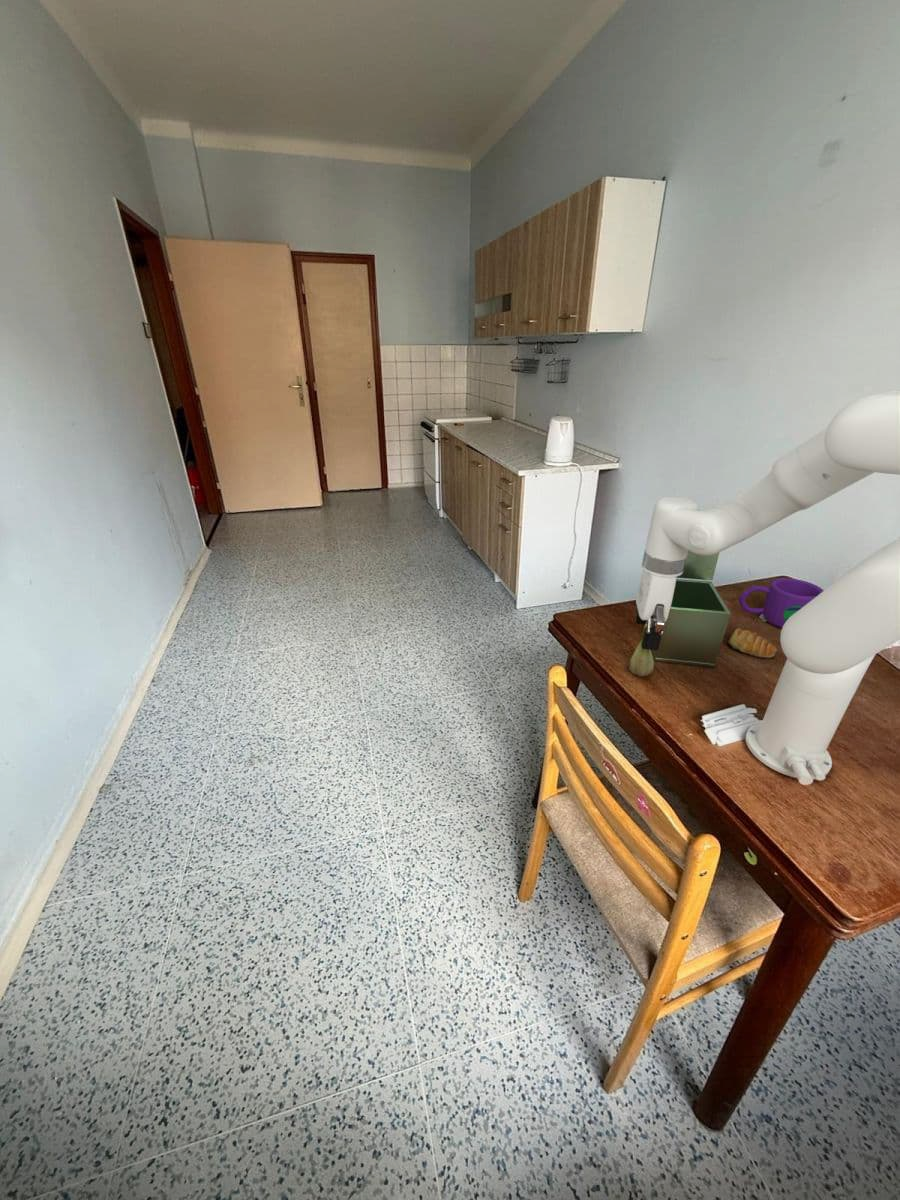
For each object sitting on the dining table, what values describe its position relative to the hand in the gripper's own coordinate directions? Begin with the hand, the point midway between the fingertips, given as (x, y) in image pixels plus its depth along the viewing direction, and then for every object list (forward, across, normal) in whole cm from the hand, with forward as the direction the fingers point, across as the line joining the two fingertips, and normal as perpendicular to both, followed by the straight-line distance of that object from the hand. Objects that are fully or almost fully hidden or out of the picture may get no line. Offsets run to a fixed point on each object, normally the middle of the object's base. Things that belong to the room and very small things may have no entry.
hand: (646, 635), depth 100 cm
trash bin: (+9, -13, +10) cm, 19 cm away
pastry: (+9, -15, +26) cm, 32 cm away
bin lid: (-13, -21, +10) cm, 26 cm away
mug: (+9, -30, +36) cm, 48 cm away
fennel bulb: (+10, 0, 0) cm, 10 cm away
